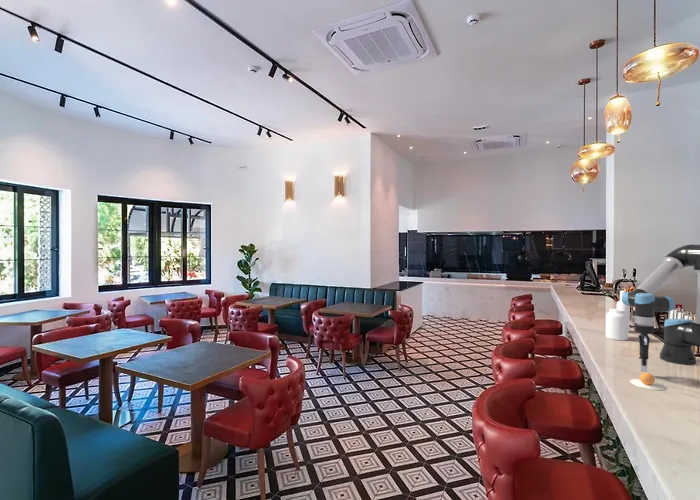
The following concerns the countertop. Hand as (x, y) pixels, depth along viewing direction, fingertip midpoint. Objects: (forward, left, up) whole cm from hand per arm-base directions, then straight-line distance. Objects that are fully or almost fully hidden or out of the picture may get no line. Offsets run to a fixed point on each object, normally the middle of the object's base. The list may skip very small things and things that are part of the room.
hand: (643, 371), depth 181 cm
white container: (+6, -76, -2) cm, 76 cm away
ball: (0, +14, +1) cm, 14 cm away
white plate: (0, +14, -2) cm, 14 cm away
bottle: (+1, -100, -2) cm, 100 cm away
